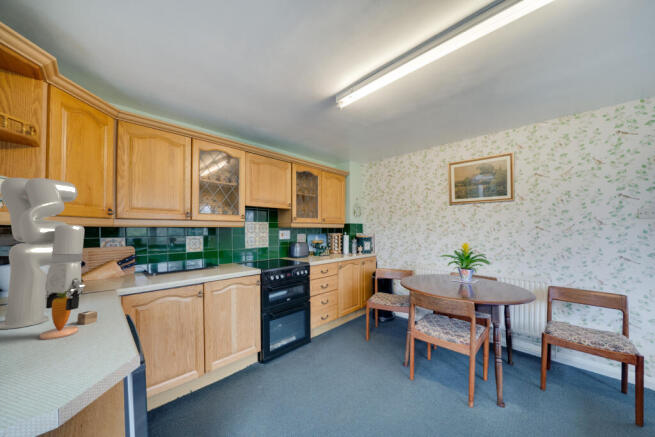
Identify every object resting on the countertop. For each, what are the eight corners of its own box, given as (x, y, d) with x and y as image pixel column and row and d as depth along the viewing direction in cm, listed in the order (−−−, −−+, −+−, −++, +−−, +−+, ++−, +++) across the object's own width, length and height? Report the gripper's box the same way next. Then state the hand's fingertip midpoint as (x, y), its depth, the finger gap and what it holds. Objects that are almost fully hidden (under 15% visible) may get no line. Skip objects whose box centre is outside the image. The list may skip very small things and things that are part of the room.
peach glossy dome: (32, 338, 81) (32, 334, 81) (66, 328, 90) (67, 325, 90) (51, 340, 79) (51, 337, 79) (84, 330, 88) (84, 327, 88)
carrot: (55, 333, 82) (60, 288, 83) (44, 332, 83) (49, 287, 84) (73, 328, 87) (77, 285, 88) (63, 327, 88) (67, 285, 89)
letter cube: (77, 324, 95) (78, 312, 95) (89, 320, 99) (90, 309, 99) (84, 325, 94) (85, 313, 94) (96, 321, 98) (97, 310, 98)
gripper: (35, 259, 85) (30, 309, 84) (70, 260, 81) (65, 313, 80) (63, 257, 92) (58, 304, 91) (97, 259, 88) (92, 307, 87)
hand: (62, 308), depth 85 cm, fingers open, 9 cm apart
